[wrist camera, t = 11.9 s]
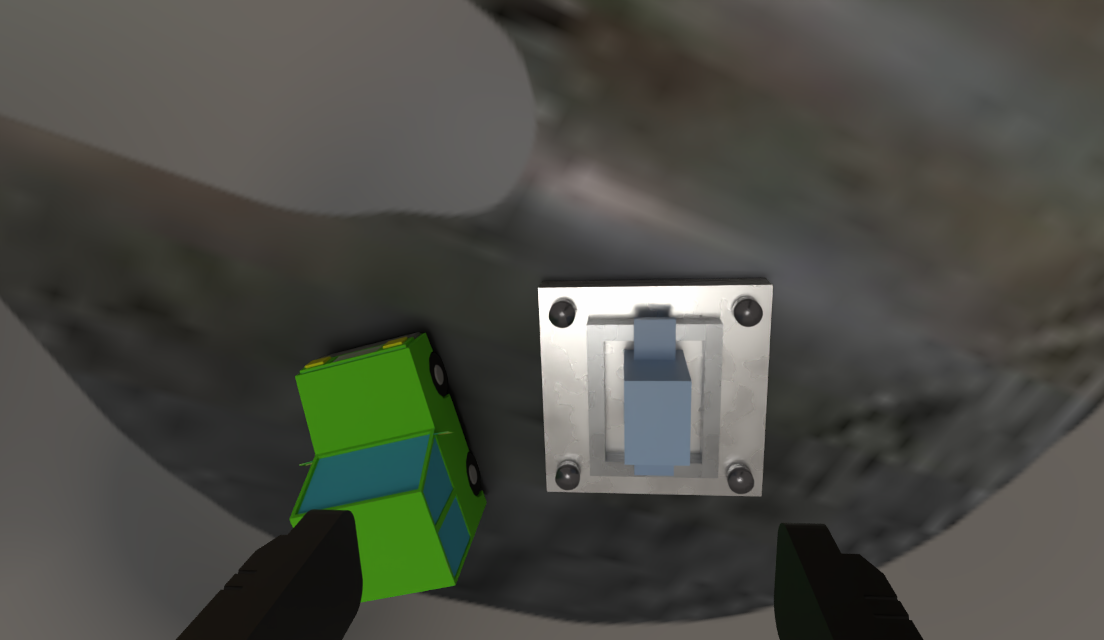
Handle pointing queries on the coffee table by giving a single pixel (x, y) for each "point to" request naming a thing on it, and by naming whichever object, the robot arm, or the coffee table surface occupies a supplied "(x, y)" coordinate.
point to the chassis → (598, 381)
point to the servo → (656, 399)
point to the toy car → (392, 463)
